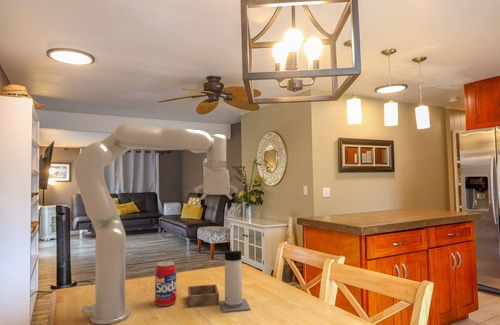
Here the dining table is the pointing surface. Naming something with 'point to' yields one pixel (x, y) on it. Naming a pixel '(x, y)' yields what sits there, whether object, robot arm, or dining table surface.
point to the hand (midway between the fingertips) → (216, 209)
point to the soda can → (165, 283)
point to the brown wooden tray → (203, 295)
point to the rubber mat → (241, 308)
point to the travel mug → (233, 279)
